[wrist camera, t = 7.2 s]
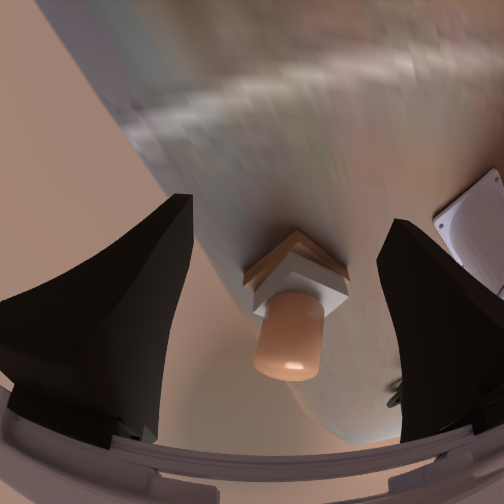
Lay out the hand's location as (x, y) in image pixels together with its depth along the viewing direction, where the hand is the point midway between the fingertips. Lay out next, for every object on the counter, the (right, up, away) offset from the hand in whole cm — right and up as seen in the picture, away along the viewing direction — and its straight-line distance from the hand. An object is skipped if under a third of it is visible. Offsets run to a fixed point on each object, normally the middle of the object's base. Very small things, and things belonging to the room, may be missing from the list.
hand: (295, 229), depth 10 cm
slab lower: (+2, -2, +16) cm, 17 cm away
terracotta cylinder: (+2, -5, +13) cm, 14 cm away
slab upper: (+2, -4, +15) cm, 15 cm away
